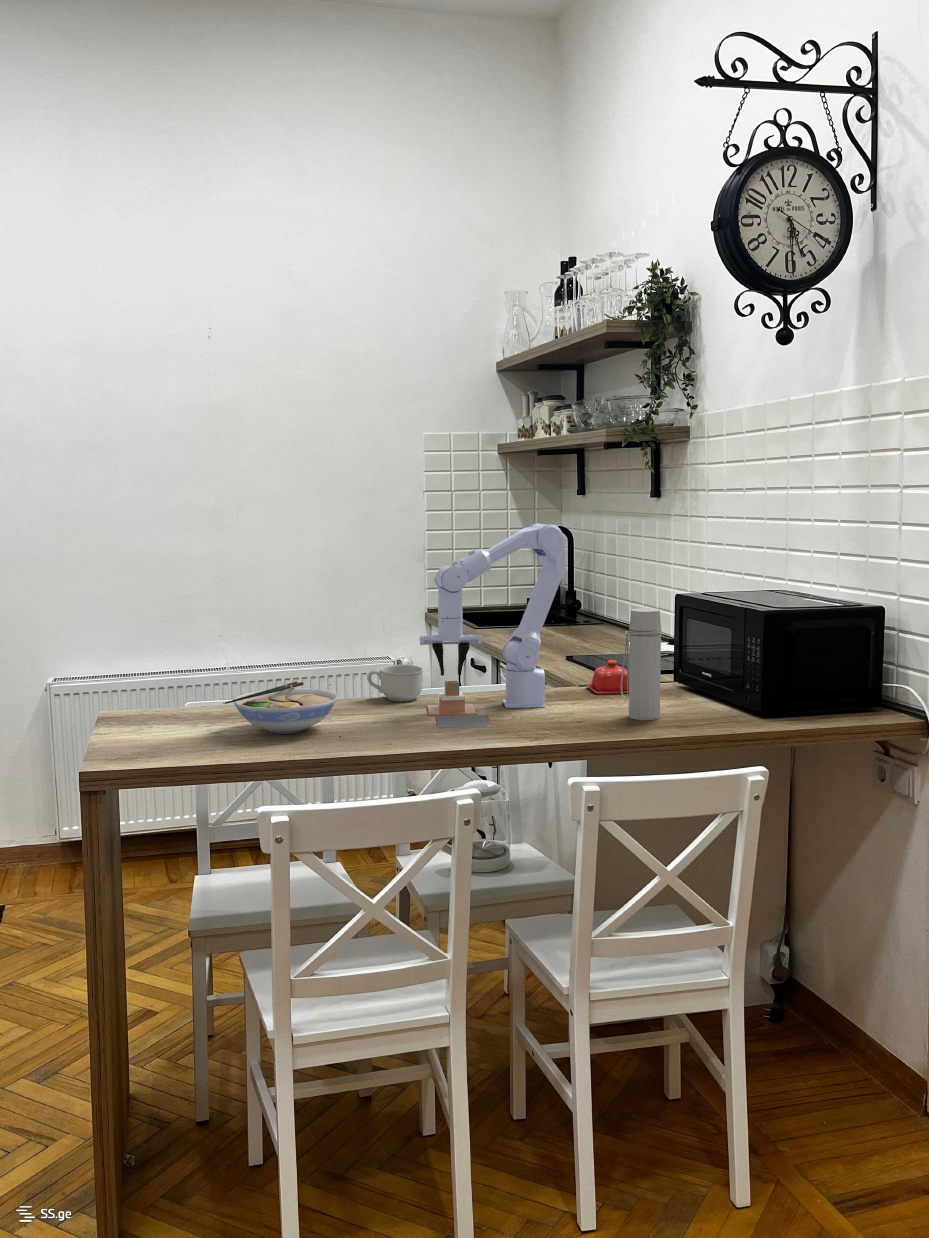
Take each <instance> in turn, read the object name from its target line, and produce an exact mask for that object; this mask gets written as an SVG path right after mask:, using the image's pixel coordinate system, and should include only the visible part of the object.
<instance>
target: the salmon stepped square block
mask: <svg viewBox="0 0 929 1238" xmlns="http://www.w3.org/2000/svg"><path fill="white" fill-rule="evenodd" d="M426 707H427V711H428V716H429V717H436V716H463V715H478V714H477V711H476V708H475V706H474V704H473V703H466V699H465V700H445V701H443V700H442V699H441V698H440V693H439V694H437V704H427V705H426Z"/></svg>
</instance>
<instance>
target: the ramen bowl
mask: <svg viewBox="0 0 929 1238" xmlns="http://www.w3.org/2000/svg"><path fill="white" fill-rule="evenodd" d="M300 686H304V681H303V682H302V681H300V682H298V681H293V682H289V683H286V684H283V685H279V686H275V687H272V688H269V689H262V690H254V691H250V692H246V693H242V694H240V695H237V696H235V697H234V698H233V699H232V700H229V701H226V702H223V703H222V705H223V704H226V705H228V704H231V703H232V704H233V705H234V707H235V709H236V710H237V711H238V713H240V715H241V716H242V717H243V718H244V719H245V720H246V721H247V722H248V723H250V724H251V725H253V726H255V727H258V728H259V729H263V730H267V731H269V732H270V733H272V734H280V735H287V734H296V733H301V732H302V731H304V730H306V729H308V728H310V727H312V726H315V725H316V724H318V723H321V722H322V721H323V720H325V718H326V717H327V716H328V715H329V714H330V712H331V710H332V709H333V707H334V706H335V703H336V702H337V698H338V696H339V694H337V693H336V692H334V691H332V690H326V689H322V688H321V689H320V688H308V687H307V688H306V687H300Z"/></svg>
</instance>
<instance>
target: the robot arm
mask: <svg viewBox="0 0 929 1238" xmlns="http://www.w3.org/2000/svg"><path fill="white" fill-rule="evenodd" d="M566 541H567V539H566V537H565V535H564V533H563V531H562V530H561V528H559V526H557V525H555V524H553V523H552V524H545V523H544V524H543V523H540V522H539V523H538V522H537V523H533V524H531V525H530V526H527V527H524V528H522V529H521V528H520V530H518V531H517V532H514V533H513V534H511V535H510V536H508V537H507V538H505V539H504V540H501V542H500V541H499V542H498V543H496V544H495V545H494V546H492V547H490V548H488V549H487V550H486V551H485V550H483V549H479V548H478V549H476V550H475V549H473V548H472V549H471V550H469V551H468V554H466V555H465V556H462V558H460V559H458V560H455V559H453V560H452V561H450V562H451V565H444V566H442V567H440V568H439V569H438V570H437V572H436V573H435V577H434V579H433V580H434V583H435V585H436V587H437V588H438V589H437V591H438V593H437V595H438V597H437V615H438V617H437V621H438V625H437V626H438V632H437V633H438V634H435V635H419V646H427V645H431V647H432V650H433V652H434V654H435V656H436V659H437V663H438V665H439V671H440V676H445V667H444V645H457V654H458V655H457V658H458V659H457V675H458V676H462V672H463V671H462V670H463V666H464V663H465V659H466V657H467V655H468V652H469V650H470V648H471V647H470V645H475V644H477V645H482V642H483V641H482V639H483V637H482V635H481V634H464V629H463V628H464V627H463V625H464V624H463V623H464V622H463V620H464V618H463V616H464V615H463V613H464V611H463V589H464V588H465V586H466V584H468V583H469V582H472V581H475V579H477V578H479V577H481V576H483V575H485V574H486V573H488V572H490V571H491V569H492V566H493V564H494V563H495V562H497V561H500V560H502V559H503V558H505V557H508V556H509V555H511V554H513V553H515V552H518V551H519V550H520V551H521V550H522V549H528V550H529V549H531V550H532V551H533V552H534V553H535V554H536V555H537V557H538V559H539V561H540V563H541V565H542V567H541V569H540V572H539V574H538V577H537V580H536V583H535V584H534V588H533V590H532V591H531V596H530V598H529V600H528V603H527V604H526V605H527V606H526V608H525V610H524V613H523V615H522V618H521V620H520V623H519V626H518V627H517V628H516V629H515V630H514V631H512V634H511V636H510V638H509V639H508V641H506V642H505V643H504V645H503V646H502V652H501V653H502V657H503V659H504V661H506V665H505V699H503V700H502V703H503V705H504V707H505V708H506V709H524V708H528V709H529V708H546V674H545V670H544V668H537V667H536V666H537V664H538V663H539V661H540V648H541V645H542V640H541V631H542V630H543V627H544V625H545V622H546V619H547V617H548V614H549V612H550V609H551V606H552V603H553V601H554V598H555V596H556V593H557V591H558V589H559V586H560V583H561V581H562V578H563V576H564V573H565V570H566V567H567V557H566V547H565V545H566Z"/></svg>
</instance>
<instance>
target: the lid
mask: <svg viewBox="0 0 929 1238" xmlns="http://www.w3.org/2000/svg"><path fill="white" fill-rule="evenodd" d="M439 694H440V698H441V699H442V700H443V701H445V700H465V701H466V699H465V697H466V695H465V694H464V693H463V692H462V691H460V682H459V681H458V680H445V681H444V692H439Z"/></svg>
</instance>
